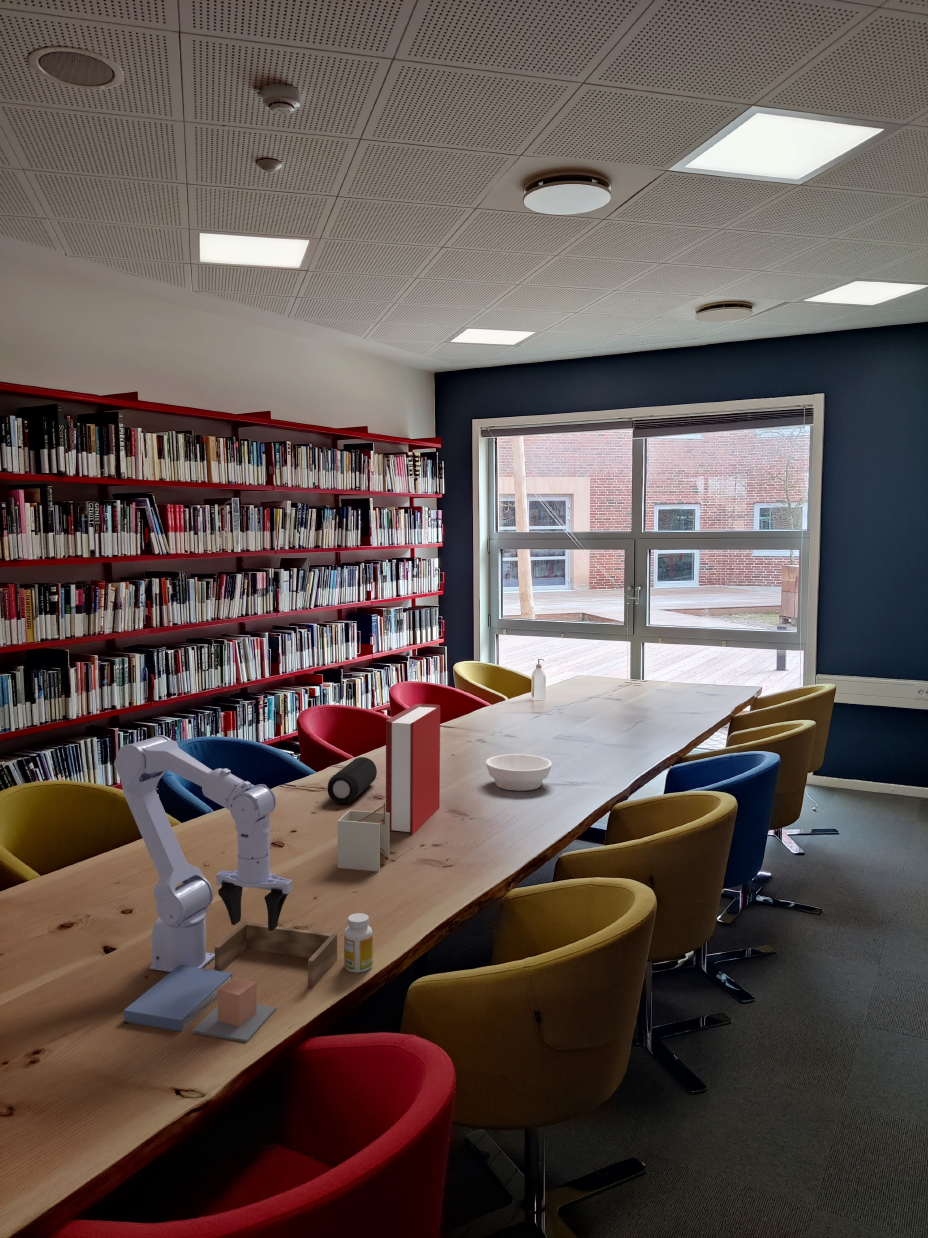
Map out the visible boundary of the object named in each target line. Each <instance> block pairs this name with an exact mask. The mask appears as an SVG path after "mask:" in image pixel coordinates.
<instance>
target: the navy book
mask: <svg viewBox="0 0 928 1238" xmlns="http://www.w3.org/2000/svg"><path fill="white" fill-rule="evenodd" d="M232 978H233V973H232V972H226V971H215V969H207V968H196V967H190V966H183V965H179V966H177V967H176V968H175V969H174V970H172V971H171V972H168V974H166V975H165V976H164V977H163V978H161V980H159V981H158V982H156V983H155V984H154V985H152V987H150V988H149V989H147V991H146V992H144V993H143V994H141V996H140V997H138V998H137V999H136V1000H134V1001H133V1002H132V1003H130V1005H129V1006H127V1007H126V1008H125V1009H123V1021H124V1022H127V1023H131V1024H138V1025H142V1026H143V1025H144V1026H149V1027H155V1028H160V1029H166V1030H170V1031H171V1030H172V1031H176V1032H177V1031H178V1032H183V1031H184V1030H185V1029H187V1027H188V1026H189V1025H190V1024H191V1023H192V1022H193V1021H194V1020H196V1019H197V1018H198V1017H199V1015H201V1014H202V1013H203V1012H204V1011H205V1010H206V1009H208V1008H209V1006H210V1005H212V1003H214V1002H215V1001H216V1000H217V999H218V994H217V989H218V988H220V987H221V986H223V985H224V984H225V983H227V982H228V981H230V980H231V979H232Z"/></svg>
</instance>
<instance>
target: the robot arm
mask: <svg viewBox="0 0 928 1238" xmlns="http://www.w3.org/2000/svg"><path fill="white" fill-rule="evenodd" d="M113 765H114V768H115V770H116V772H117V775H118V777H119V779H120V782H121V786H122V787H121V788H122V792H123V795H124V797H125V800H126V802H127V804H128V807H129V809H130V812H131V815H132V816H133V819H134V821H135V823H136V826H137V829H138V830H139V833H140V835H141V837H142V840H143V842H144V844H145V847H146V849H147V852H148V853H149V856H150V858H151V860H152V863H153V866H154V868H155V870H156V873H157V875H158V879H157V882H156V884H155V887H154V889H153V891H152V893H153V896H154V899H155V904H156V908H155V909H156V913H157V916H158V918H157V919H156V921H155V923H154V925H153V928H152V932H151V963H152V964H151V965H150V966H149V969H150V970H156V971H161V972H168V973H170V972H171V971H172V970H174V969H175V968H176V967H177V966H179V965H183V966H190V967H196V968H202V969H204V967H205V966H206V965H207V964H208V963H209V962H211V961H213V959H215V952H214V953H213V952H207V931H206V930H207V926H206V923H207V921H206V918H207V917H206V914H208V911H209V910H208V907H209V906H210V905H211V904H212V903H213V900H214V897H215V895H214V889H213V886H212V884H211V883H210V881H209V880H208V879H206V877H205V876H204V875H203V873H202V870H201V869H200V868H199V867H197V866H195V865H192V864H190V863H188V861H187V859H186V857H185V855H184V852H183V851H182V850H183V849H182V848H181V846H180V843H179V840H178V838H177V836H176V834H175V831H174V828H173V827H172V824H171V823H170V820H169V817H168V816H167V814H166V811H165V809H164V806H163V804H162V802H161V800H160V797H159V794H158V793H157V787H158V783H159V782H160V779H161V778H162V777H163V775H164V774H165V773H166V772H167V771H169V772H171V773H173V774H175V775H177V776H179V777H181V778H184V779H185V780H188V781H189V782H191V783H193V784H196V785H197V786H199V787H201V791H202V794H203V796H204V797H205V798H208V799H209V800H211V801H213V802H214V803H216V804H218V805H220V806H222V807H223V808H225V809H227V810H228V811H229V813H230V815H231V817H232V819H233V821H234V823H235V830H236V832H237V833H236V834H237V870H220V871H219V872H217V873H216V875H215V879H216V881H215V883H216V885H219V886H220V885H221V887H220V888H219V889H218V890H217V891H218V892H217V895H218V896H219V897H220V898H221V900H222V902H223V904H224V905H225V907H226V910H227V913H228V916H229V919H230V920H229V921H230V924H231V925H232V926H235V925H237V924H238V923H239V922H241V919H242V896H243V895H242V894H243V888H246V889H247V888H248V889H249V888H251V889H260V890H268V891H270V892H268V893H267V894H266V895H264V902H265V904H266V910H267V925H268V929H269V931H273V930H274V929H275V928H276V927H277V926H278V924H279V919H280V916H281V912H282V909H283V906H284V903H285V901H286V899H287V897H288V895H289V894H290V892H291V891H293V879H289V878H284V877H282V876H279V875H276V874H274V873H271V856H270V855H271V851H270V850H271V849H270V848H271V843H270V841H271V840H270V839H271V837H270V836H271V834H270V832H271V831H270V830H271V827H270V823H271V821H270V820H271V819H270V818H271V817H270V816H271V815H270V814H272V813H273V812H274V810H275V809H276V807H277V806H276V805H277V800H276V796H275V793H274V792H273V791H272V789H270V787H268V786H267V785H266V784H263V783H261V784H256V785H254V784H252V783H251V782H250V781H248V780H246V781H245V780H243V779H242V778H240V777H238V776H236V775H234V774H232V772H231V770H230V769H229V768H221V767H220V768H215V769H214V770H213V769H211V768H209V767H208V766H206V765H205V764H204V763H202V762H200V761H199V760H197V759H196V758H195V757H193V756H191V755H190V754H189V753H187V752H186V751H184V750H183V749H181V748H180V747H179V745H178V742H177V741H175V740H173V739H170V738H169V737H168V736H166V735H161V734H158V735H155V736H153V737H150V738H148V739H147V738H146V739H144V740H140V741H137V742H134V743H128V744H124V745H123V746H121V747H120V748H119V750H118V752H117V754H116V757H115V760H114V762H113ZM181 883H182V884H181ZM178 885H179V886H178Z"/></svg>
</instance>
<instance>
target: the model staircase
mask: <svg viewBox="0 0 928 1238" xmlns="http://www.w3.org/2000/svg"><path fill="white" fill-rule="evenodd" d="M382 809H383V811H381V810H382ZM389 817H390V813H386V802H383V805H382V806H381V807H379V808H378V809H376V810H374V811H368V810H354V809H348V811H346V812H345V813H344V814H343V815H342V816H341V817H339V818H338V820H337V869H345V870H346V869H348V870H357V871H358V870H359V871H367V872H370V871H371V872H380V870H381V868H380V867H381V866H385V865H386V863H387V862H388V861H389V860H390V831H389Z"/></svg>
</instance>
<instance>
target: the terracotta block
mask: <svg viewBox="0 0 928 1238" xmlns="http://www.w3.org/2000/svg"><path fill="white" fill-rule="evenodd" d="M217 994H218V997H217V1006H218V1021H221V1022H224V1023H228V1024H231V1025H235V1026H238V1027H240V1026H241V1025H243V1024H244V1023H245V1022H246V1021H248V1020H249V1019H250V1018H251V1017H253V1016H254V1015H255V1014H256V1013H257V1007H256V1004H257V981H252V980H249V979H246V978H242V977H241V978H240V977H237V976H234V977H232V979H231V980H230V981H228V982H227V983H225V984H224V985H223V986H221V987H220V988H218V989H217Z"/></svg>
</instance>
